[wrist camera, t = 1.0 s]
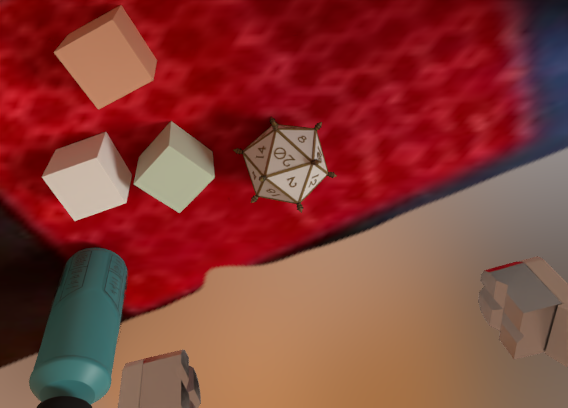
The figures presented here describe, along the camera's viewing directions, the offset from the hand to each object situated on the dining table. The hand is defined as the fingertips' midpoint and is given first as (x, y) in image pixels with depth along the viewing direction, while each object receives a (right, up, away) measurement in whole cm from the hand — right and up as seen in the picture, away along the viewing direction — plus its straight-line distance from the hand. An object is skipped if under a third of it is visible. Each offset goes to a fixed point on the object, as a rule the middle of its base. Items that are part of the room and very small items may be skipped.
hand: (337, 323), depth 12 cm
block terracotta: (-16, +16, +26) cm, 34 cm away
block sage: (-12, +8, +32) cm, 36 cm away
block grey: (-19, +7, +32) cm, 38 cm away
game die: (-2, +9, +34) cm, 35 cm away
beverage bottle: (-22, -3, +38) cm, 44 cm away
